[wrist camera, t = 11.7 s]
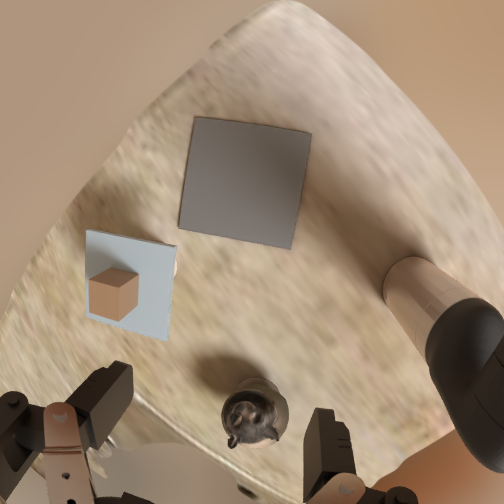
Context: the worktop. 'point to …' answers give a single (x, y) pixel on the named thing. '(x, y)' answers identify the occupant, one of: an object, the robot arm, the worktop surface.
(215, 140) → the mat
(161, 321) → the lid
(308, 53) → the worktop surface
